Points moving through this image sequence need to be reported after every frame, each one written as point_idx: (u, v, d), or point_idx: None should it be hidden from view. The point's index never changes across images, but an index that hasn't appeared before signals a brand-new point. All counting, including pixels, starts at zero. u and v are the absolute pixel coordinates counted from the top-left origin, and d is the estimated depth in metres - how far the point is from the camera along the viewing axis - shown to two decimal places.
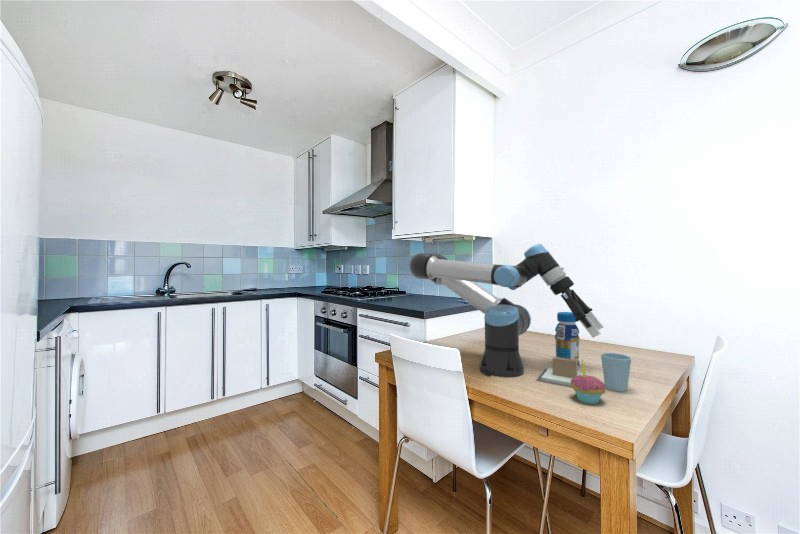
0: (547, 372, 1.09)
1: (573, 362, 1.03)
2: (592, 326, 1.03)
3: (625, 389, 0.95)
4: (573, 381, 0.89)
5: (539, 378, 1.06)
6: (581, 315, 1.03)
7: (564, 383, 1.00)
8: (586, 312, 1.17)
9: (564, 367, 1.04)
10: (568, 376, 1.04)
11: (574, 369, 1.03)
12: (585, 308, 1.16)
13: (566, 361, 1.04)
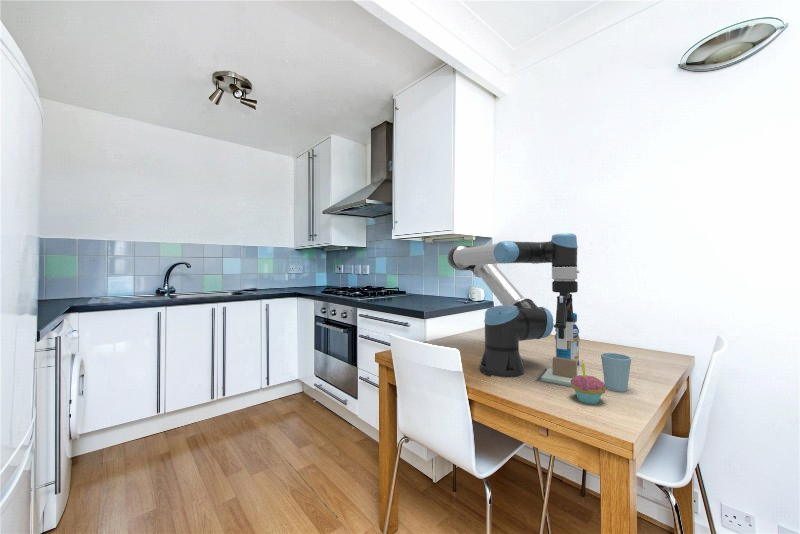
0: (547, 372, 1.09)
1: (573, 362, 1.03)
2: (564, 339, 0.99)
3: (625, 389, 0.95)
4: (573, 381, 0.89)
5: (539, 378, 1.06)
6: (562, 325, 0.97)
7: (564, 383, 1.00)
8: (568, 320, 1.11)
9: (564, 367, 1.04)
10: (568, 376, 1.04)
11: (574, 369, 1.03)
12: (569, 317, 1.10)
13: (566, 361, 1.04)
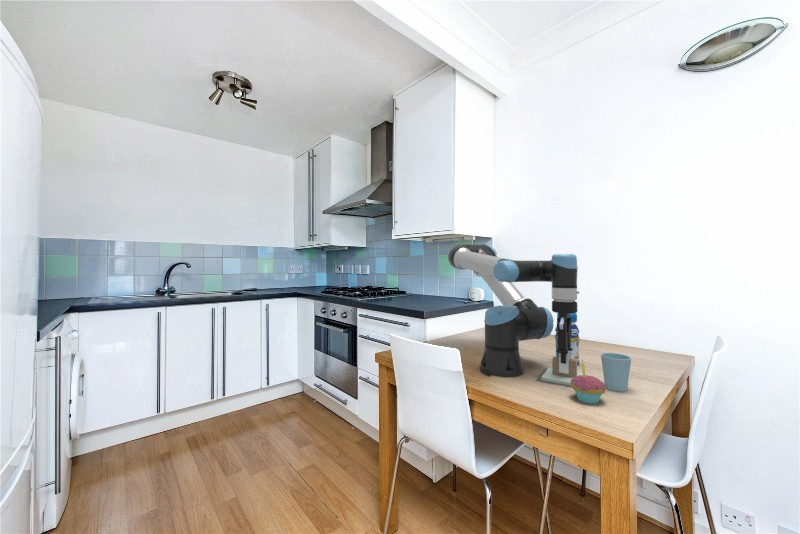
0: (547, 372, 1.09)
1: (572, 362, 1.03)
2: (566, 364, 1.03)
3: (625, 389, 0.95)
4: (573, 381, 0.89)
5: (539, 378, 1.06)
6: (564, 351, 1.01)
7: (564, 383, 1.00)
8: None
9: None
10: (568, 376, 1.04)
11: (573, 369, 1.03)
12: (567, 343, 1.06)
13: None
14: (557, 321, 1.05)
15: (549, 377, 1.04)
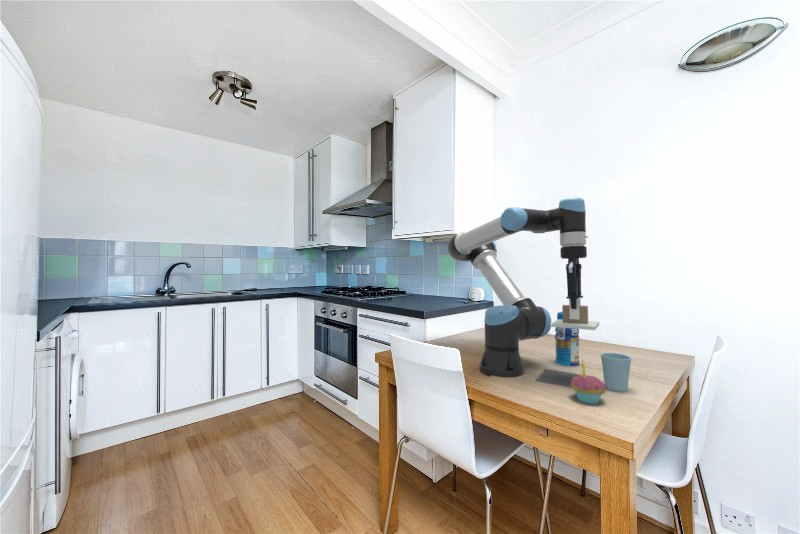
0: (557, 321, 1.07)
1: (583, 307, 1.01)
2: (576, 309, 1.01)
3: (625, 389, 0.95)
4: (573, 381, 0.89)
5: (539, 378, 1.06)
6: (574, 295, 0.99)
7: (575, 327, 0.98)
8: None
9: None
10: (579, 322, 1.01)
11: (584, 314, 1.00)
12: (577, 290, 1.04)
13: None
14: None
15: (559, 323, 1.01)
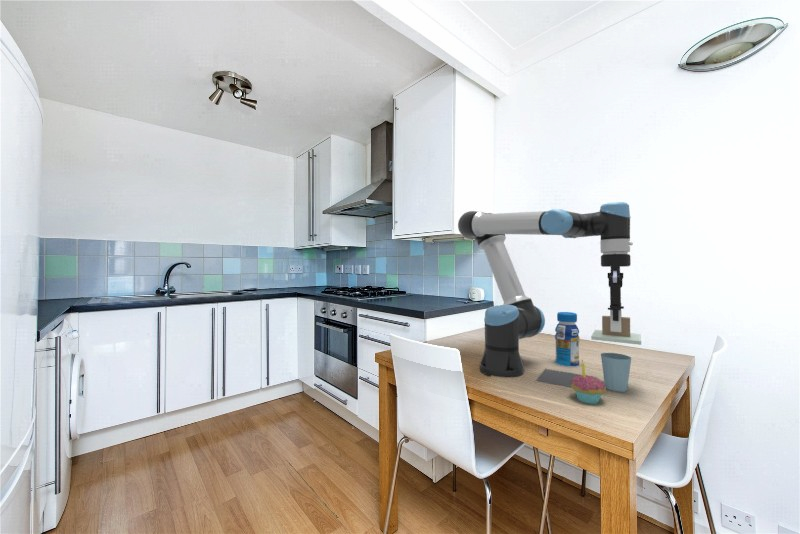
0: (595, 332, 1.00)
1: (626, 319, 0.95)
2: (618, 321, 0.95)
3: (625, 389, 0.95)
4: (573, 381, 0.89)
5: (539, 378, 1.06)
6: (618, 307, 0.93)
7: (618, 341, 0.92)
8: None
9: None
10: (620, 335, 0.95)
11: (627, 326, 0.94)
12: None
13: None
14: (608, 276, 0.97)
15: (600, 336, 0.95)
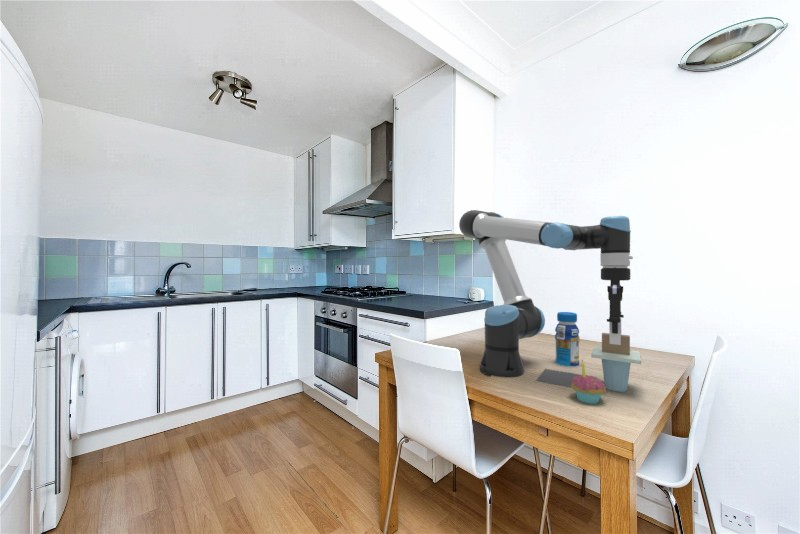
0: (595, 349, 1.00)
1: (626, 337, 0.95)
2: (618, 334, 0.93)
3: (625, 389, 0.95)
4: (573, 381, 0.89)
5: (539, 378, 1.06)
6: (617, 319, 0.90)
7: (618, 359, 0.92)
8: None
9: None
10: (620, 353, 0.95)
11: (627, 345, 0.95)
12: None
13: None
14: (608, 289, 0.97)
15: (600, 354, 0.95)
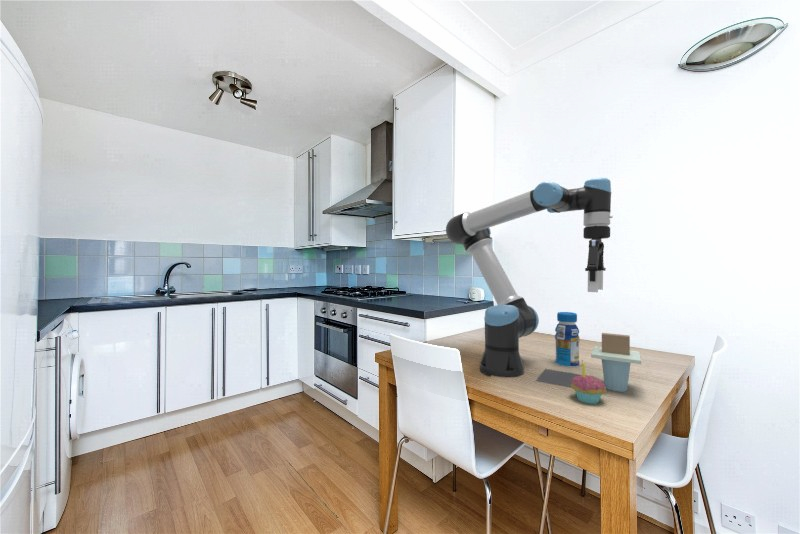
0: (595, 350, 1.00)
1: (625, 337, 0.95)
2: (595, 282, 0.99)
3: (625, 389, 0.95)
4: (573, 381, 0.89)
5: (539, 378, 1.06)
6: (594, 267, 0.97)
7: (618, 359, 0.92)
8: (598, 269, 1.11)
9: (615, 343, 0.96)
10: (620, 353, 0.95)
11: (627, 345, 0.95)
12: (600, 265, 1.09)
13: (618, 336, 0.96)
14: None
15: (600, 354, 0.95)
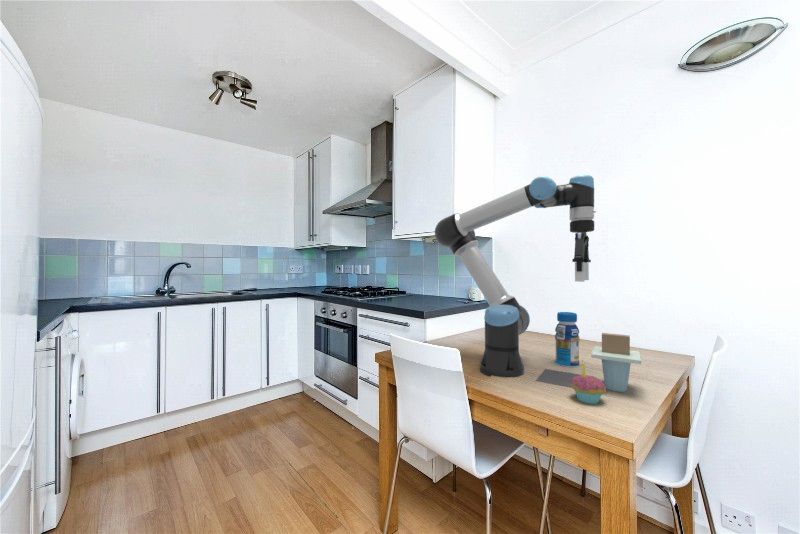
0: (595, 350, 1.00)
1: (625, 338, 0.95)
2: (582, 272, 1.06)
3: (625, 389, 0.95)
4: (573, 381, 0.89)
5: (539, 378, 1.06)
6: (580, 258, 1.03)
7: (618, 359, 0.92)
8: (583, 261, 1.18)
9: (615, 343, 0.96)
10: (620, 353, 0.95)
11: (627, 345, 0.95)
12: (586, 257, 1.16)
13: (618, 336, 0.96)
14: None
15: (600, 354, 0.95)
